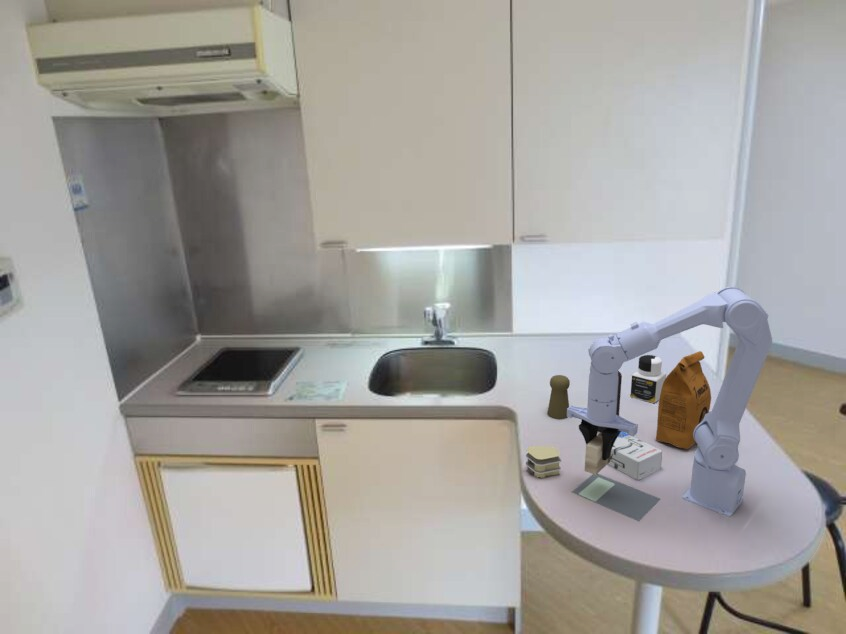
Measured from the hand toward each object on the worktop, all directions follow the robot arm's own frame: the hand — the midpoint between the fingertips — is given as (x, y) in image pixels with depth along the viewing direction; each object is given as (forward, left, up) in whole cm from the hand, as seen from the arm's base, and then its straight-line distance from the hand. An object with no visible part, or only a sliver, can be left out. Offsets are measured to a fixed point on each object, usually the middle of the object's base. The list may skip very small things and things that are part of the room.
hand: (598, 455), depth 125 cm
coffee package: (-5, -34, -9) cm, 35 cm away
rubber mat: (-4, -1, -8) cm, 9 cm away
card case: (0, 0, -2) cm, 2 cm away
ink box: (+6, -15, -6) cm, 17 cm away
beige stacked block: (+13, +2, -9) cm, 16 cm away
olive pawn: (+25, -26, -8) cm, 37 cm away
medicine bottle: (+12, -52, -9) cm, 54 cm away
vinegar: (+12, -27, -8) cm, 30 cm away
